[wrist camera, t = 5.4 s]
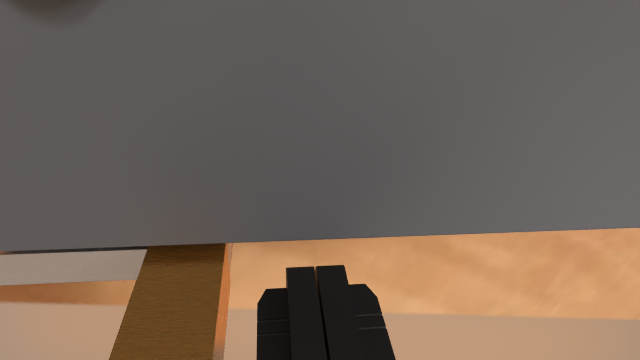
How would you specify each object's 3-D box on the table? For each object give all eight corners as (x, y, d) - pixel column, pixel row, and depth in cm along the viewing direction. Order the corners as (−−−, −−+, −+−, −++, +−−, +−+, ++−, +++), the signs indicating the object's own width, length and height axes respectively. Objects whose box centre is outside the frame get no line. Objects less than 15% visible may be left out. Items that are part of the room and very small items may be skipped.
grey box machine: (607, -158, 18) (979, -234, 9) (536, 137, 24) (718, 288, 14) (-280, -195, 15) (-1146, -366, 6) (-130, 149, 21) (-460, 347, 11)
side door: (239, 126, 21) (212, 358, 10) (241, 161, 21) (218, 412, 11) (-75, 131, 19) (-491, 400, 9) (-61, 168, 20) (-429, 458, 9)
